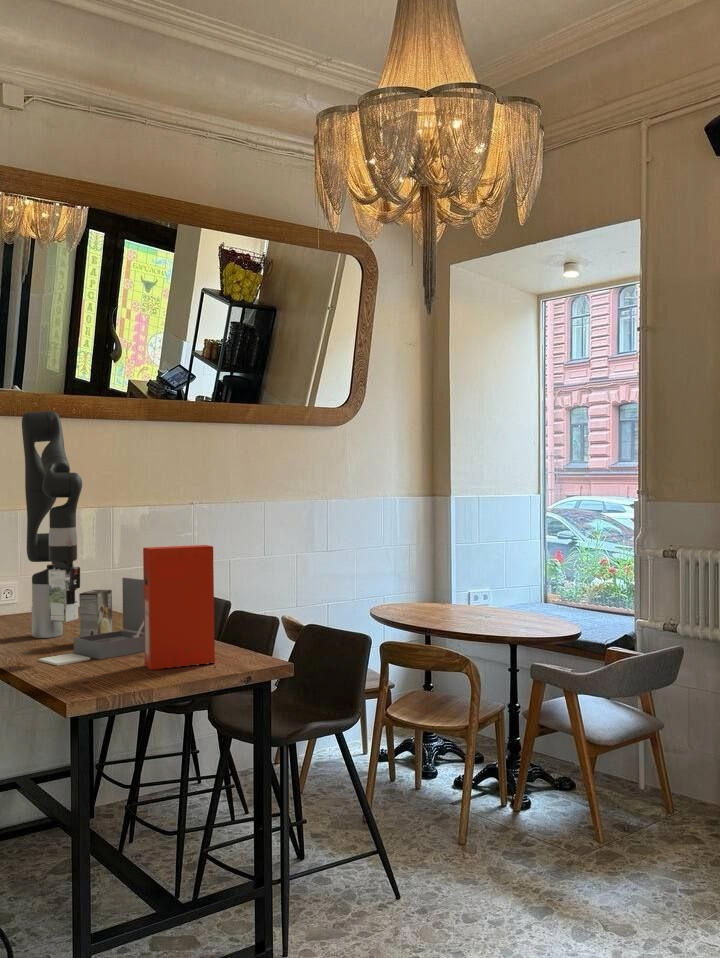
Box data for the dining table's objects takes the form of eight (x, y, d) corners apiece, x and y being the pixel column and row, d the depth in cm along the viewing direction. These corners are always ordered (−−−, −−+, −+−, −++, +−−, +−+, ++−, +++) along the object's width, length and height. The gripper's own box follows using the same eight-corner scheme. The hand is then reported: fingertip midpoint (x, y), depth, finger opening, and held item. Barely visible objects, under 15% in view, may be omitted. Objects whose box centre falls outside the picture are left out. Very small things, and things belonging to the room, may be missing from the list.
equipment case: (73, 653, 258) (73, 582, 258) (125, 644, 271) (124, 577, 271) (100, 659, 249) (99, 586, 249) (152, 650, 262) (152, 580, 262)
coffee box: (94, 640, 279) (93, 589, 279) (113, 640, 278) (112, 589, 278) (79, 645, 270) (78, 593, 270) (98, 646, 269) (98, 593, 269)
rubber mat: (38, 660, 248) (38, 658, 248) (71, 655, 255) (71, 653, 255) (57, 665, 241) (57, 663, 241) (90, 659, 249) (90, 657, 249)
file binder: (144, 665, 241) (143, 547, 241) (206, 658, 248) (205, 544, 248) (151, 670, 233) (149, 549, 233) (214, 664, 241) (213, 546, 241)
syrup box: (79, 619, 250) (78, 567, 250) (65, 622, 244) (64, 569, 244) (62, 618, 252) (61, 567, 252) (48, 621, 246) (47, 569, 246)
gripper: (37, 543, 250) (38, 602, 250) (64, 545, 241) (64, 606, 241) (61, 542, 256) (62, 599, 256) (88, 544, 246) (89, 603, 246)
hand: (63, 602), depth 248 cm, fingers closed on syrup box, 7 cm apart
